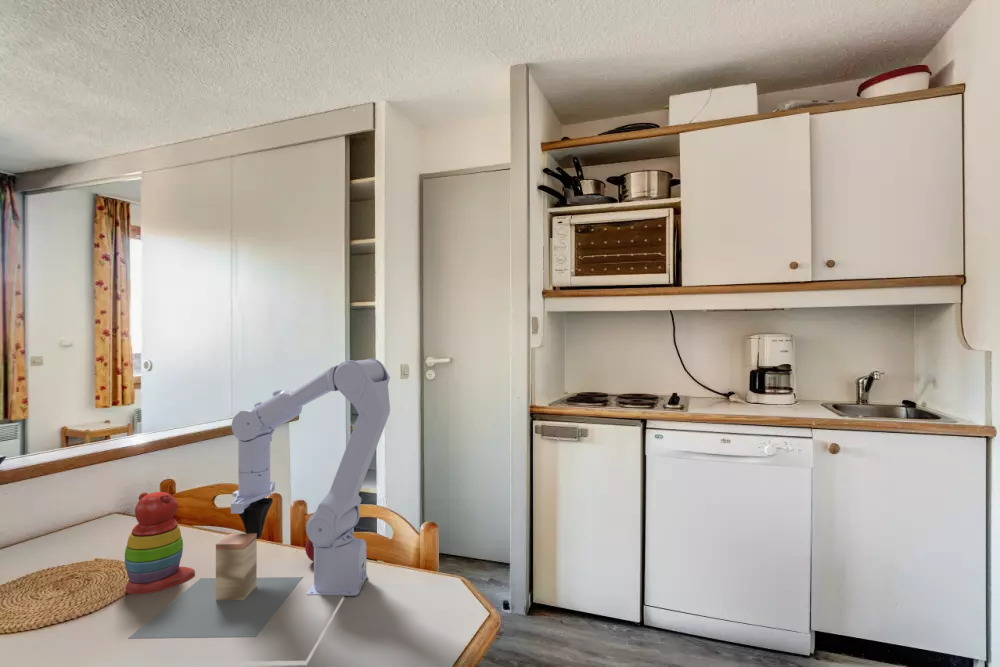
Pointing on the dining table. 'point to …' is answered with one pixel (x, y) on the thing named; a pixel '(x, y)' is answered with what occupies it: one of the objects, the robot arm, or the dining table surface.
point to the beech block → (236, 566)
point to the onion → (309, 550)
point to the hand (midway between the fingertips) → (254, 537)
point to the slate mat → (218, 611)
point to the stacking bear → (155, 546)
